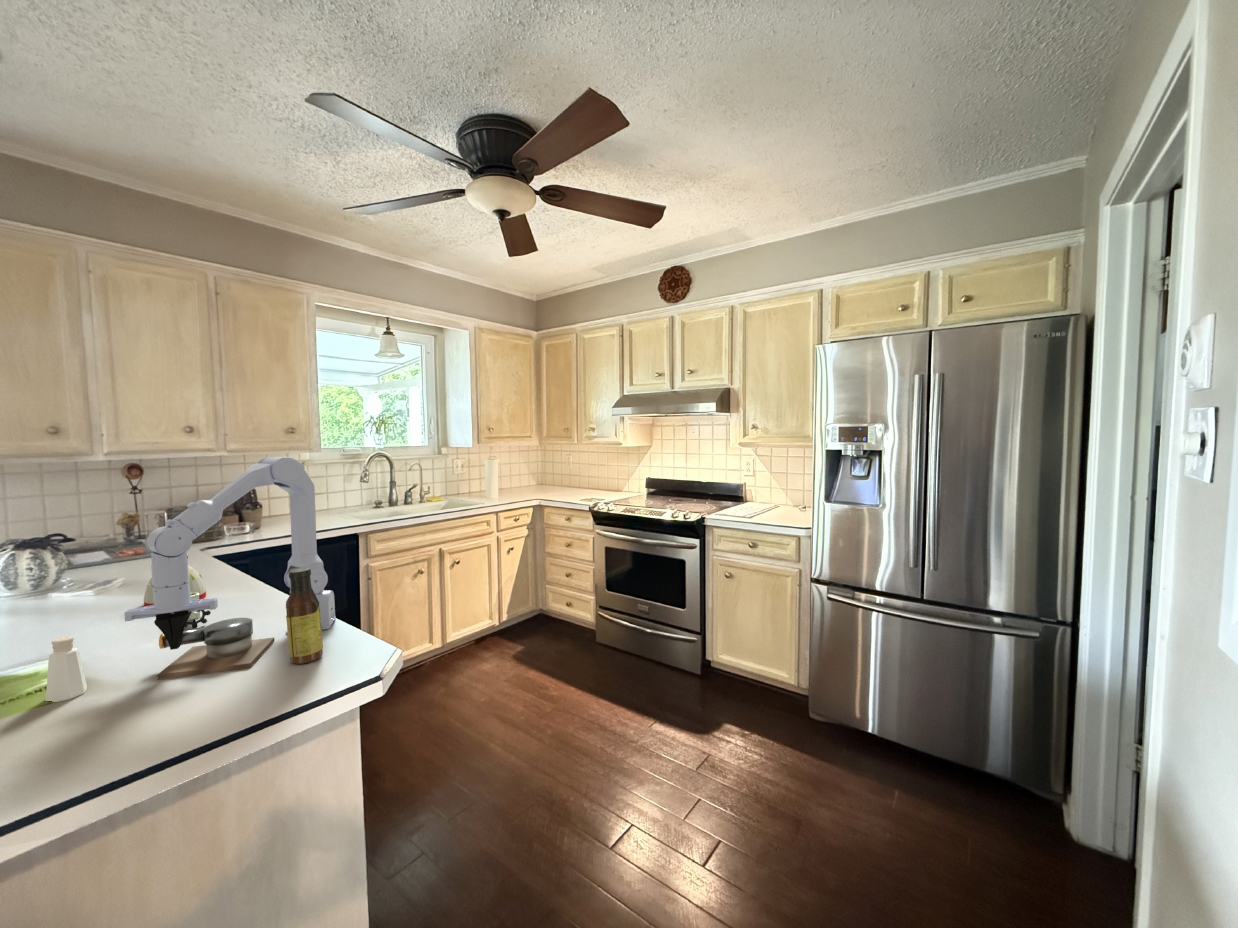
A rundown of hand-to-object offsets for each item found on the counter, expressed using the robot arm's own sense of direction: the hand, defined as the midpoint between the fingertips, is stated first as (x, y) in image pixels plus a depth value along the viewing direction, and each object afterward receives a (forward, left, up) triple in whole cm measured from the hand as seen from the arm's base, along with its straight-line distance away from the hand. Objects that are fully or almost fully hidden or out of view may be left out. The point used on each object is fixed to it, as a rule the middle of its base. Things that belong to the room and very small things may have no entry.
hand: (175, 647), depth 105 cm
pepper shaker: (+14, +7, -5) cm, 16 cm away
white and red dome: (+24, -53, -5) cm, 59 cm away
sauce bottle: (-25, +4, -5) cm, 26 cm away
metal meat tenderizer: (-4, -4, -1) cm, 6 cm away
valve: (+10, -31, -5) cm, 33 cm away
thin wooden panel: (-7, -2, -4) cm, 9 cm away
